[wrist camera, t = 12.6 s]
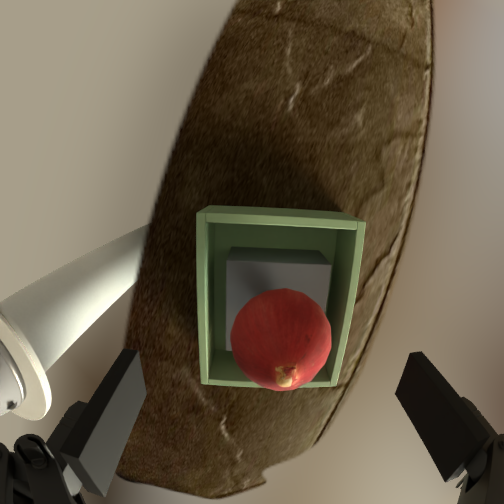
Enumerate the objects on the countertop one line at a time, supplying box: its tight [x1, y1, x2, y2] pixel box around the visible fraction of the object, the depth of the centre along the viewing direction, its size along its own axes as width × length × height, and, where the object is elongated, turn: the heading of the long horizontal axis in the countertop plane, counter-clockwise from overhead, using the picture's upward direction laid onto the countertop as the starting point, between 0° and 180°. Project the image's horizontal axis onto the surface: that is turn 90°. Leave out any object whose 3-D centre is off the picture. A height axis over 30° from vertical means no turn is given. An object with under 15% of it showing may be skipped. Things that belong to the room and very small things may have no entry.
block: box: [225, 246, 331, 351], centre depth 22 cm, size 7×7×4 cm
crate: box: [196, 205, 366, 387], centre depth 22 cm, size 11×13×5 cm
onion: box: [230, 288, 331, 391], centre depth 16 cm, size 6×6×8 cm
